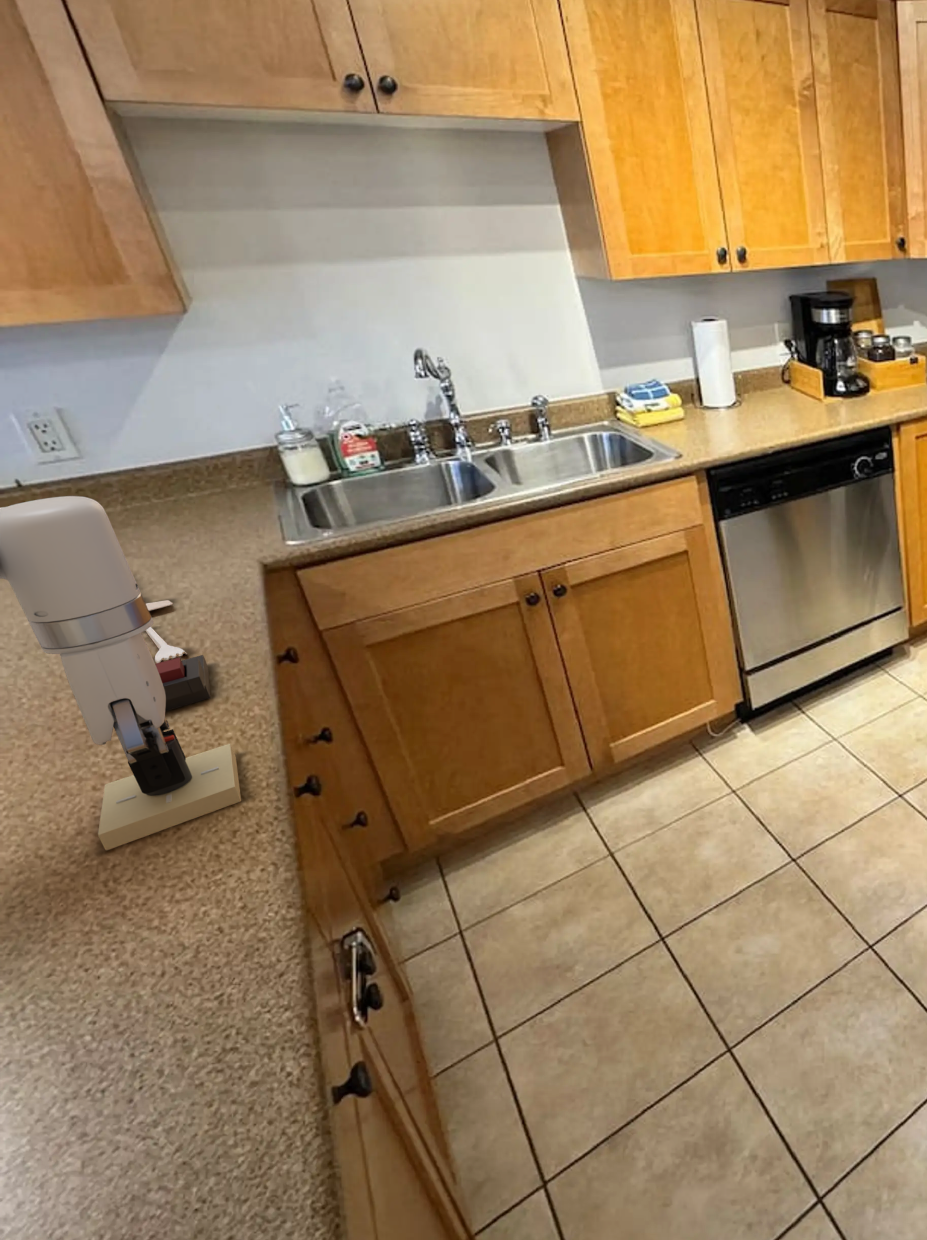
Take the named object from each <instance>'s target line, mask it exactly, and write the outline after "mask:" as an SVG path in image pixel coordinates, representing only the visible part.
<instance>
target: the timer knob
mask: <svg viewBox="0 0 927 1240" xmlns="http://www.w3.org/2000/svg"><path fill="white" fill-rule="evenodd" d="M163 737H164V739H165V742H166V744H167V747H168V748H170V747H172V748H173V750H174V752H175V754H176V757H177V759H178V761H179V763H180V765H181V768H182V770H183V772H184V774H185V780H184V781H183V782H181V783H178V784H175V785H172V786H169V787H166V788H163V789H160V790H158V791H155V792H152V793H149V794H146V795H149V796H156V795H161V794H165V793H168V792H171V791H174V790H176V789H178V788H180V787H182V786H184V785H185V784H187V783H188V782H189V781H190V780H191V779H192V774H191V772H190V770H189V768H188V765H187V763H186V761H185V759H184V756H183V754H182V752H181V750H180V748H179V745H178V743H177V741H176V739H175V737H174V735H171V736H169V735H168V736H163ZM152 739H154V738H152Z"/></svg>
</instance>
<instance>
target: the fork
mask: <svg viewBox="0 0 927 1240" xmlns="http://www.w3.org/2000/svg"><path fill="white" fill-rule="evenodd" d="M144 632H145V633H146V634H147V635H148V636H149V638H150V639H151V640H152V641H153V643H154V644H155V646H156V647H157V648H158V651H157V652H156V654H155V656H154V662H155V664H157V663H160V662H164V661H168V660H172V659H176V658H180V657H183V655H184V654H185V655H188V653H187V652H186V651H185V650H184V649H183V648H180V647H178V646H173V645H169V644H168V643H167V642H166V641H165V640H164V639H163V638H162V637H161V636H160V635H159V634H158V632H156V631H155V630H154V628H153V627H152V626H151V627H149V628H148V629H147V630H145V631H144Z"/></svg>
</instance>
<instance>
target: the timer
mask: <svg viewBox="0 0 927 1240" xmlns="http://www.w3.org/2000/svg"><path fill="white" fill-rule="evenodd" d="M185 761H186V763H187V765H188V768H189V770H190V772H191V774H192V779H191V780H190V781H189V782H188V783H187V784H185V785H184V786H182V787H180V788H178V789H176V790H174V791H171V792H168V793H165V794H161V795H156V796H149V795H146V794H144V793H142V791H141V789H140V787H139V785H138V783H137V781H136V779H135V777H134V775H133V774H132V775H129V776H125V777H122V778H119V779H117V780H113V781H110V782H107V783H105V784H104V787H103V788H104V789H103V795H102V802H101V810H100V817H99V825H98V830H97V837H98V839H99V840H100V842H101V845H102V847H103V849H104V851H109V850H112V849H114V848H117V847H120V846H123V845H126V844H127V843H131V842H134V841H136V840H139V839H141V838H144V837H148V836H149V835H153V834H156V833H158V832H161V831H163V830H166V829H170V828H172V827H174V826H177V825H180V824H183V823H186V822H188V821H191V820H193V819H196V818H199V817H201V816H205V815H207V814H210V813H213V812H216V811H218V810H221V809H224V808H226V807H229V806H231V805H234V804H237V803H241V801H242V796H241V788H240V781H239V779H240V778H239V771H238V763H237V756H236V754H235V752H234V749H233V746H232V745H231V743H227V744H223V745H220V746H217V747H215V748H211V749H208V750H206V751H202V752H199V753H197V754H193V755H190V756H187V757H186V760H185Z"/></svg>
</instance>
